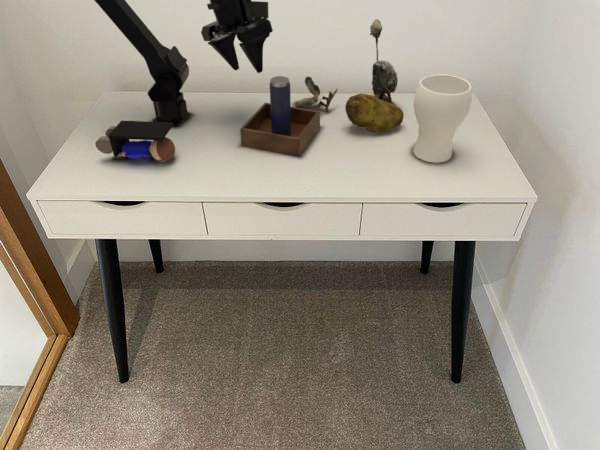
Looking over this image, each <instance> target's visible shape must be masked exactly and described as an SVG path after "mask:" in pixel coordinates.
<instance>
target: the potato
mask: <svg viewBox="0 0 600 450" xmlns="http://www.w3.org/2000/svg"><path fill="white" fill-rule="evenodd" d="M396 105H397V104H396ZM396 105H393V104H391V103H388V102H385V101H383V100H380V99H378V98H376V97H374V96H372V94H368V93H358V94H354V95H351V96H350V97H349V98H348V99H347V101H346V103H345V107H344V109H345V110H344V111H345V113H346V116H347V118H348V120H349V121H350V122H351V124H353V125H354V126H357V127H358V128H361V129H365V130H367V131H369V132H373V133H386V132H390V131H393V130H394V129H396V128H398V127H399V126H400V125H401V124H403V121H404V116H405V115H404V111H403V110H402V109H401V107H400V106H398V105H397V106H396Z"/></svg>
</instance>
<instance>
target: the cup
mask: <svg viewBox="0 0 600 450" xmlns="http://www.w3.org/2000/svg"><path fill="white" fill-rule="evenodd" d="M472 94H473V91H472V85H471V83H470V82H469V81H468V80H467V79H464V78H462V77H459V76H456V75H451V74H444V73H440V74H430V75H427V76H424V77H422V78H421V79H420V81H419V83H418V85H417V87H416V90H415V92H414V99H413V111H414V115H415V119H416V122H417V124H418V135H417V138H416V141H415V144H414V146H413V154H414V156H416V157H417V158H418V159H420V160H421V161H423V162H429V163H436V164H437V163H443V162H444V163H445V162H447V161H449V160H450V159H451V158H452V156H453V140H454V136H455V134H456V131H457V130H458V129H459V127H460V126H461V125H462V124H464V121H465V119H467V118H466V117H467V116H468V114H469V112H470V109H471V105H472V101H473V99H472V98H473V97H472V96H473V95H472Z"/></svg>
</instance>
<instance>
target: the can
mask: <svg viewBox="0 0 600 450" xmlns="http://www.w3.org/2000/svg"><path fill="white" fill-rule="evenodd" d="M269 103H270V105H271V129H272V133H274V134H280V135H285V136H290V135H291V107H292V106H291V104H292V103H291V82H290V79H289V77H287V76H282V75H278V76H277V75H276V76H273V77H271V78H270V81H269Z"/></svg>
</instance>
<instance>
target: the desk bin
mask: <svg viewBox="0 0 600 450" xmlns="http://www.w3.org/2000/svg"><path fill="white" fill-rule="evenodd" d="M320 128H321V110H320V111H319V110H315V109H308V108H301V107H296V106H291V135H290V136H285V135H280V134H274V133H272V129H271V105H270V102H264V103H263V104H262V105H261V106H260V107H259V108H258V109H257V110H256V111H255V113H253V115H252V116H251V117H250V118H249V119H248V120H247V121H246V122H245V123H244V124H243V125H242V126H241V127H240V129H239V130H240V143H241V146H242V147H246V148H253V149H258V150H263V151H268V152H273V153H278V154H283V155H284V154H285V155H289V156H293V157H294V156H295V157H301V156H302V154H303V153H304V152H305V150H306V149H307V147H308V145H309V144H310V143H311V141H312V140H313V139H314V137H315V135H316V134H317V133H318V132H319V130H320Z"/></svg>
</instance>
